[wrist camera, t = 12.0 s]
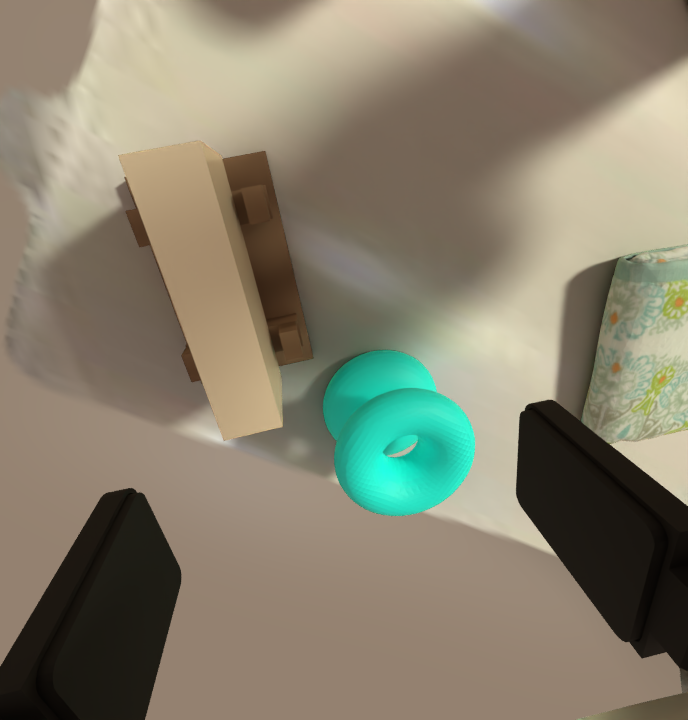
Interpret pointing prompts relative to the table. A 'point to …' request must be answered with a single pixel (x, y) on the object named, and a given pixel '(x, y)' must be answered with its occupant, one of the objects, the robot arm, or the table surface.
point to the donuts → (395, 434)
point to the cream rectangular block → (209, 281)
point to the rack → (257, 257)
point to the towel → (642, 350)
